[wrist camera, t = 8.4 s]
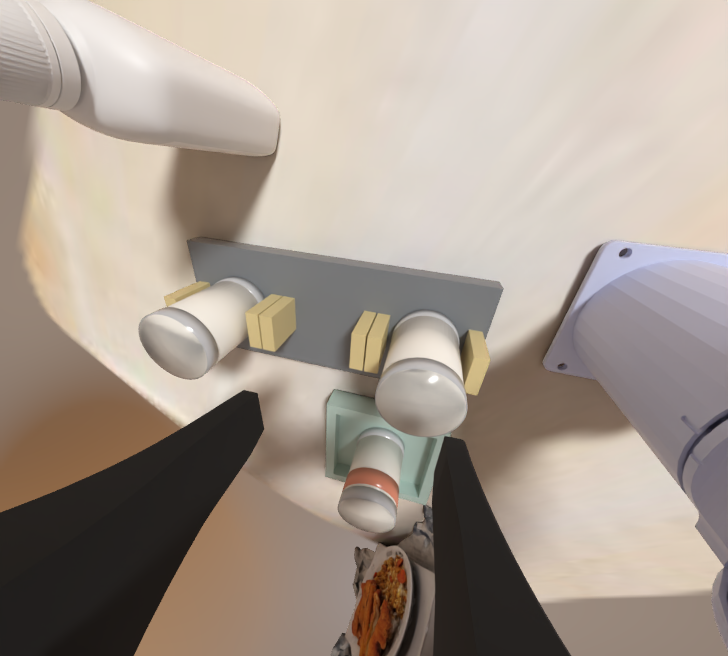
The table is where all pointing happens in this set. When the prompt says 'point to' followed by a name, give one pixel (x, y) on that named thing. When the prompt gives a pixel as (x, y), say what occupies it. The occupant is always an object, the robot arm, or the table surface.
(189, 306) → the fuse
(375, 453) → the cylinder
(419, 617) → the meal
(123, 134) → the eye dropper bottle
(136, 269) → the table surface
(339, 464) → the tray
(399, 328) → the fuse
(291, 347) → the fuse holder
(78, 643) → the robot arm
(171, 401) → the table surface
